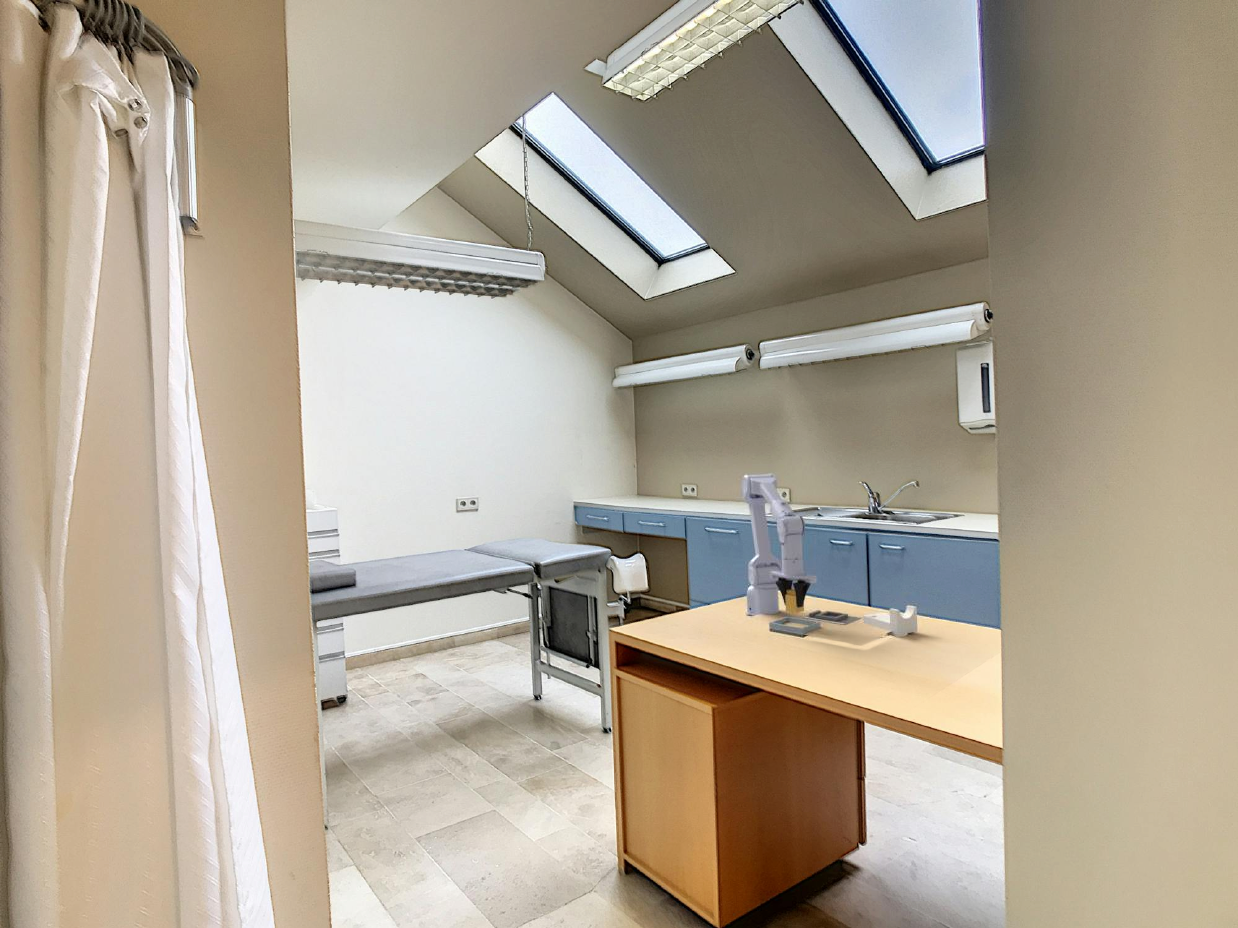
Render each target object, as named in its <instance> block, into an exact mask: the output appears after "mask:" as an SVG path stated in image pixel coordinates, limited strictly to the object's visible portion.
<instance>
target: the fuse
mask: <svg viewBox="0 0 1238 928" xmlns="http://www.w3.org/2000/svg"><path fill="white" fill-rule="evenodd" d="M786 591H787V594H786V595H785V599H786V605H785V612H789V613H793V614H798V613H802V612H804V611H805V603H804V604H803V607H800V608H798V607H797V604H796V594H795V589H794V588H792V589H788V590H786Z"/></svg>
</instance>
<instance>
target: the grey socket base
mask: <svg viewBox="0 0 1238 928" xmlns="http://www.w3.org/2000/svg"><path fill="white" fill-rule="evenodd" d="M802 619H805V620H811V621H817V622H823V623H830V624H835V625H841V626H847V625H848V624H851V623H854V622H856V621H858V620H861V619H862V617H857V616H851V615H849V613H843V612H836V611H831V610H825V611H821V610H819V609H817V610H815V611H812V612H809V613H808V615H806V616H803V617H802Z"/></svg>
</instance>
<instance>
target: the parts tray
mask: <svg viewBox="0 0 1238 928" xmlns="http://www.w3.org/2000/svg"><path fill="white" fill-rule="evenodd" d="M787 622H789V623H794V624H799V625H805V626H804V627H798V626H793V625H786V624H785V623H787ZM768 624H769V628H768V629H769V632H773V633H776V634H782V635H788V636H793V637H796V638H797V637H798V638H806V637H808V636H810V635H809V634H805V633H809V632H810V631H814V630H816V629H819V628H821V621H817V620H811V619H805V618H797V617H792V616H785V617H781V618H778V619H776V620H772V621H770V622H769V623H768Z"/></svg>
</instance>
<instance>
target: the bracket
mask: <svg viewBox="0 0 1238 928" xmlns="http://www.w3.org/2000/svg"><path fill="white" fill-rule="evenodd" d="M917 608H918V607H917V606H914V605H906V610H905V611H904V613H903V614H902V615H901V612H900V609H897V608H896V609H895V608H889V613H888V612H876V613H871V614H865V615H863V616H862V621H863V623H862V624H866V625H869V626H872V627H876V628H880V629H883V630H886V631H889V632H888V633H886V635H889V636H891V635H892V636H891V637H894V638H895V637H896V638H902V637H907V636H906V635H908V634H910V633H915V632H918V611H917V610H918V609H917ZM908 636H909V635H908Z"/></svg>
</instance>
